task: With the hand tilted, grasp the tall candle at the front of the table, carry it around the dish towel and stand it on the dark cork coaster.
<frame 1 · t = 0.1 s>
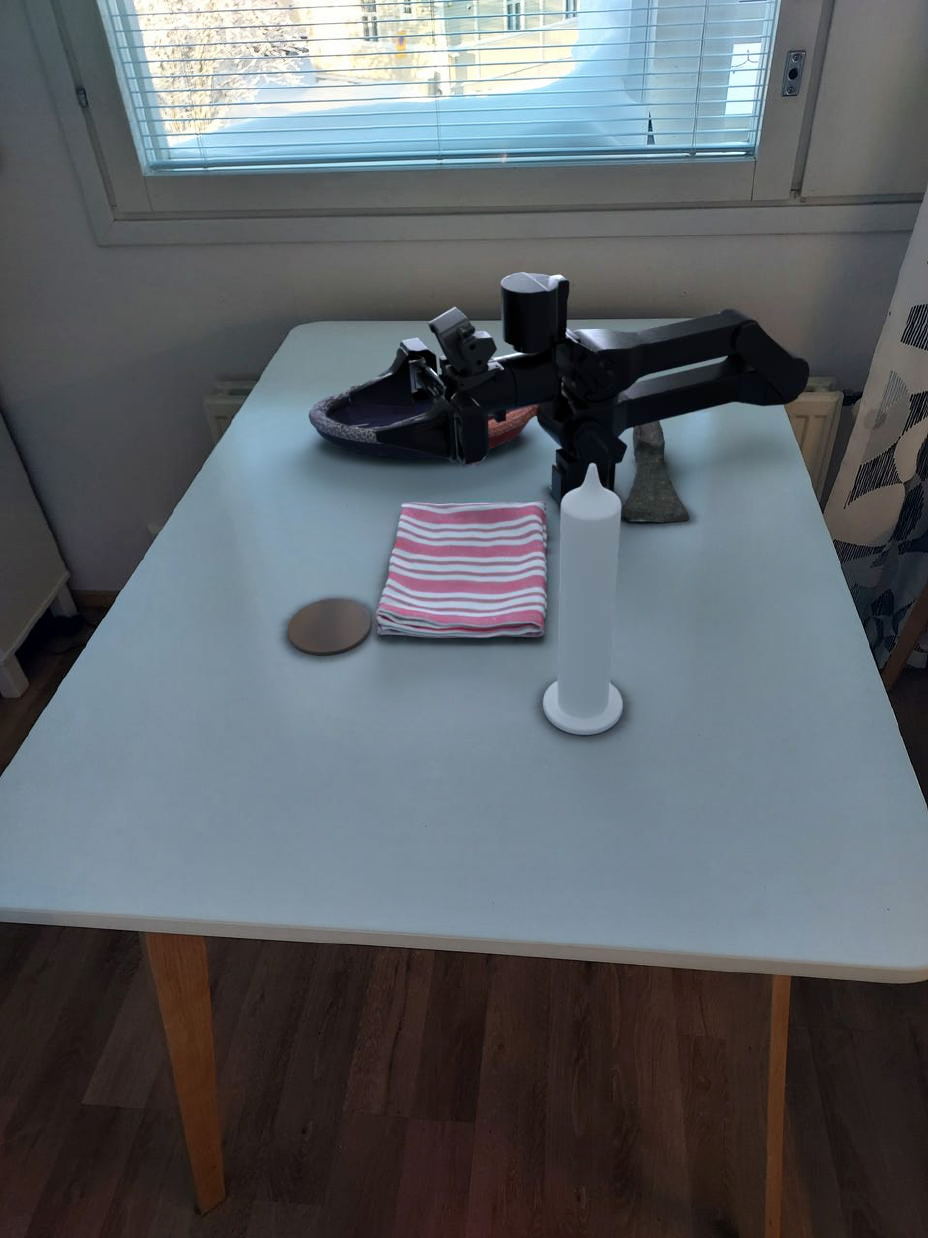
hand: (362, 416, 93), 17 cm above the table, tool horizontal, fingers open, 9 cm apart
dish towel: (468, 574, 100), on the table
candle: (582, 708, 83), on the table
coaster: (330, 627, 94), on the table
dish: (427, 438, 123), on the table
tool: (657, 478, 113), on the table
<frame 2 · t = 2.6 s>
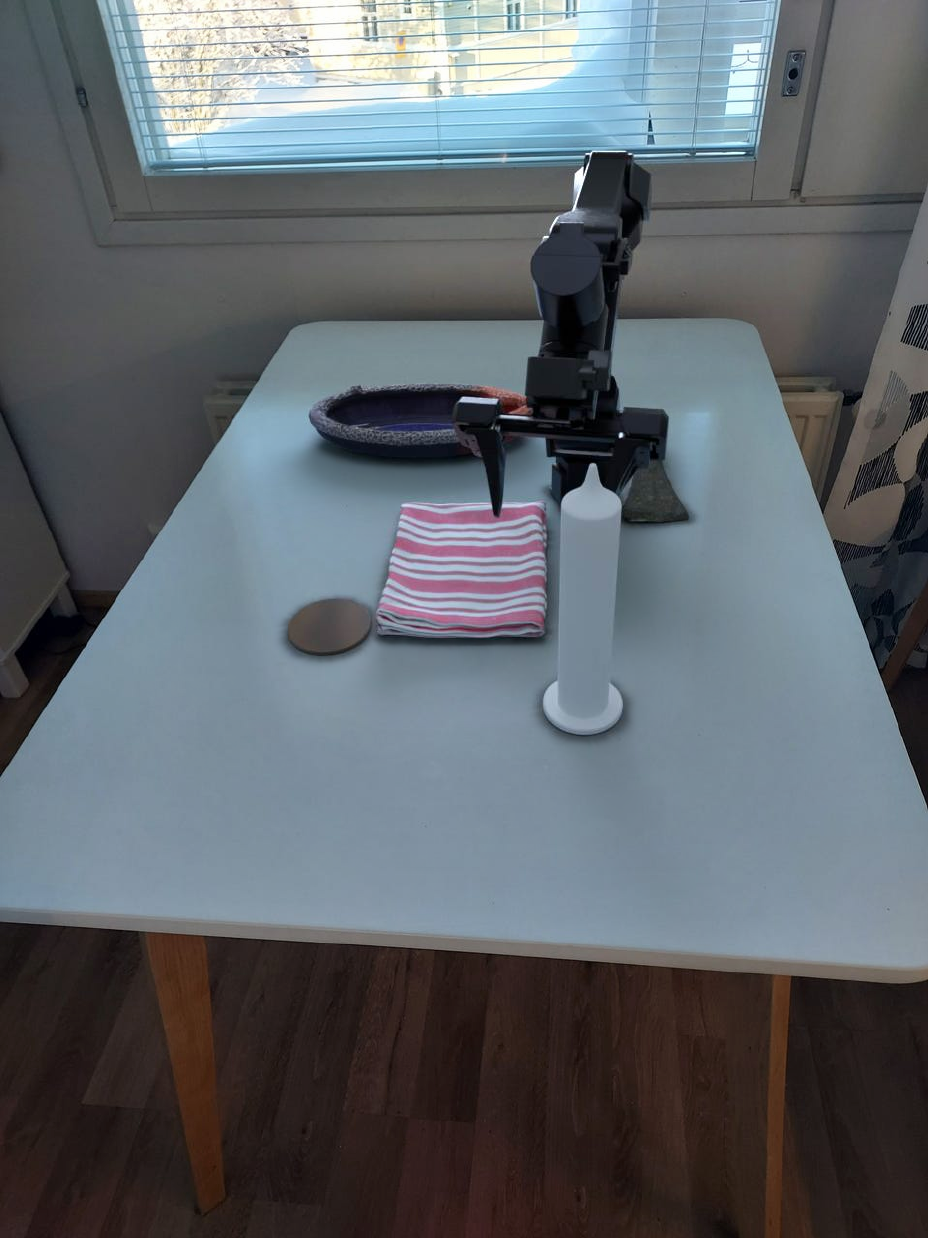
hand: (547, 521, 81), 14 cm above the table, tool tilted 50°, fingers open, 9 cm apart
nothing on the table moved.
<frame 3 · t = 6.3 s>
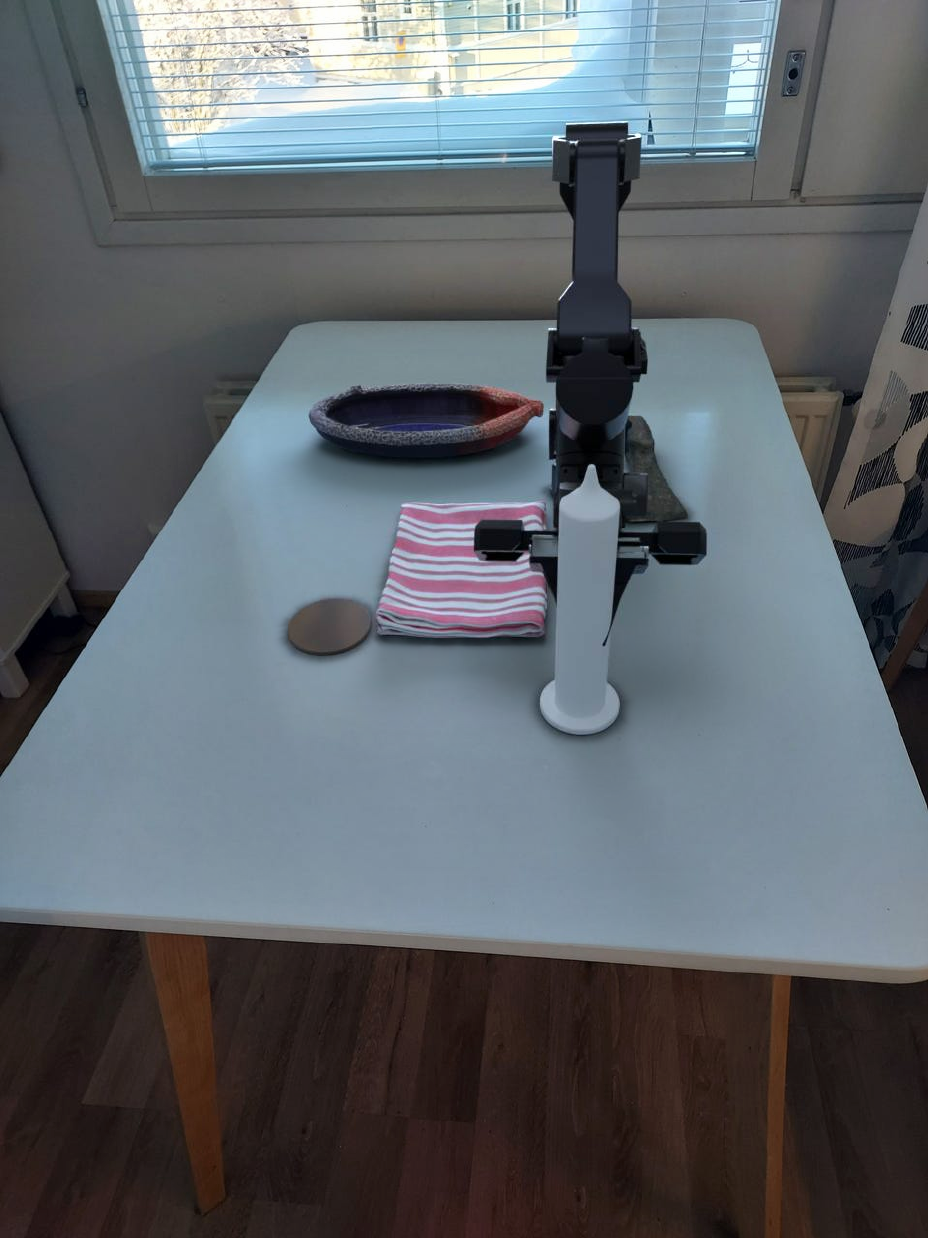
hand: (585, 645, 77), 9 cm above the table, tool tilted 45°, fingers closed on candle, 2 cm apart
candle: (579, 708, 83), on the table, touching gripper
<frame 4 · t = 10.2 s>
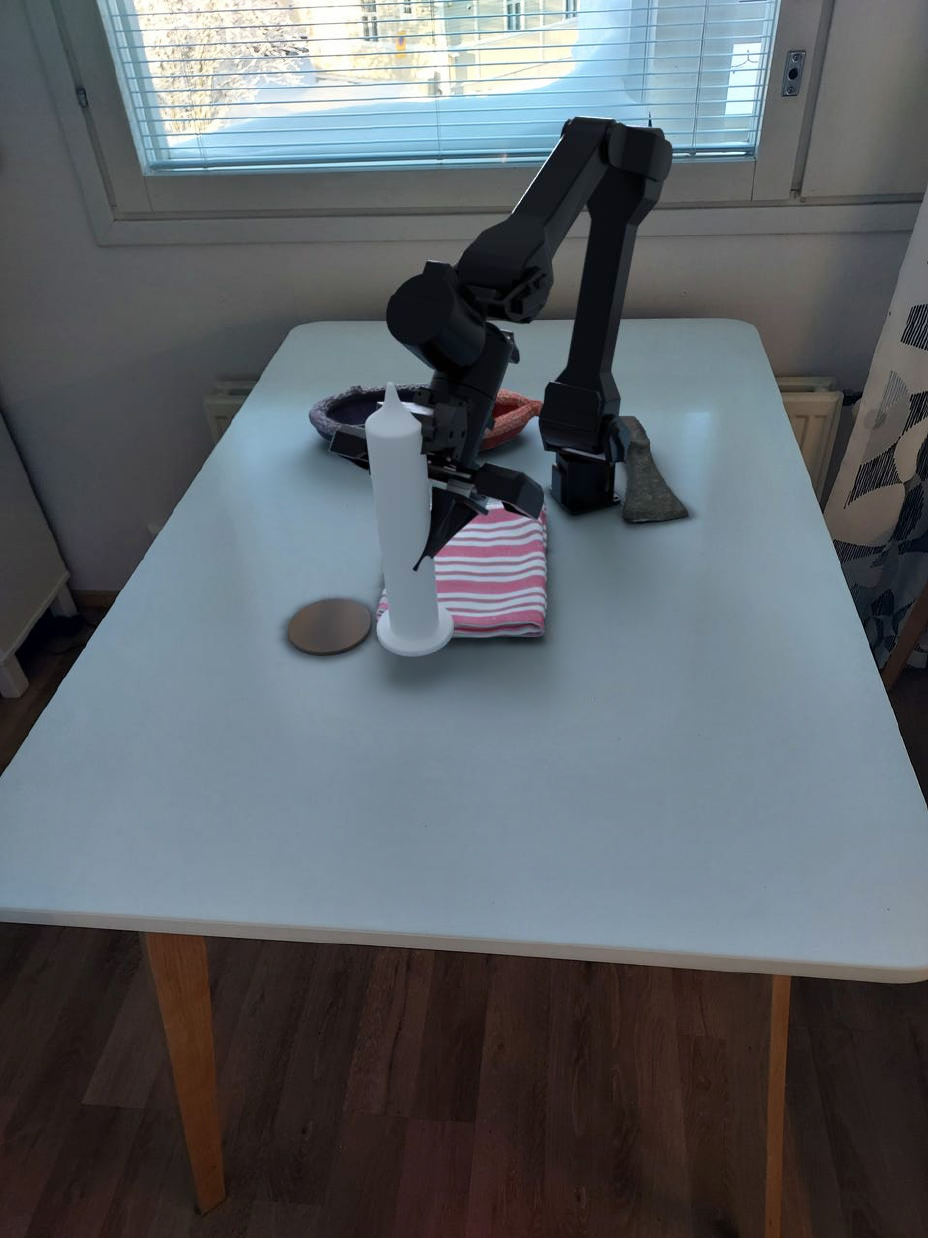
hand: (401, 566, 79), 13 cm above the table, tool tilted 45°, fingers closed on candle, 2 cm apart
candle: (415, 632, 86), point 5 cm above the table, touching gripper
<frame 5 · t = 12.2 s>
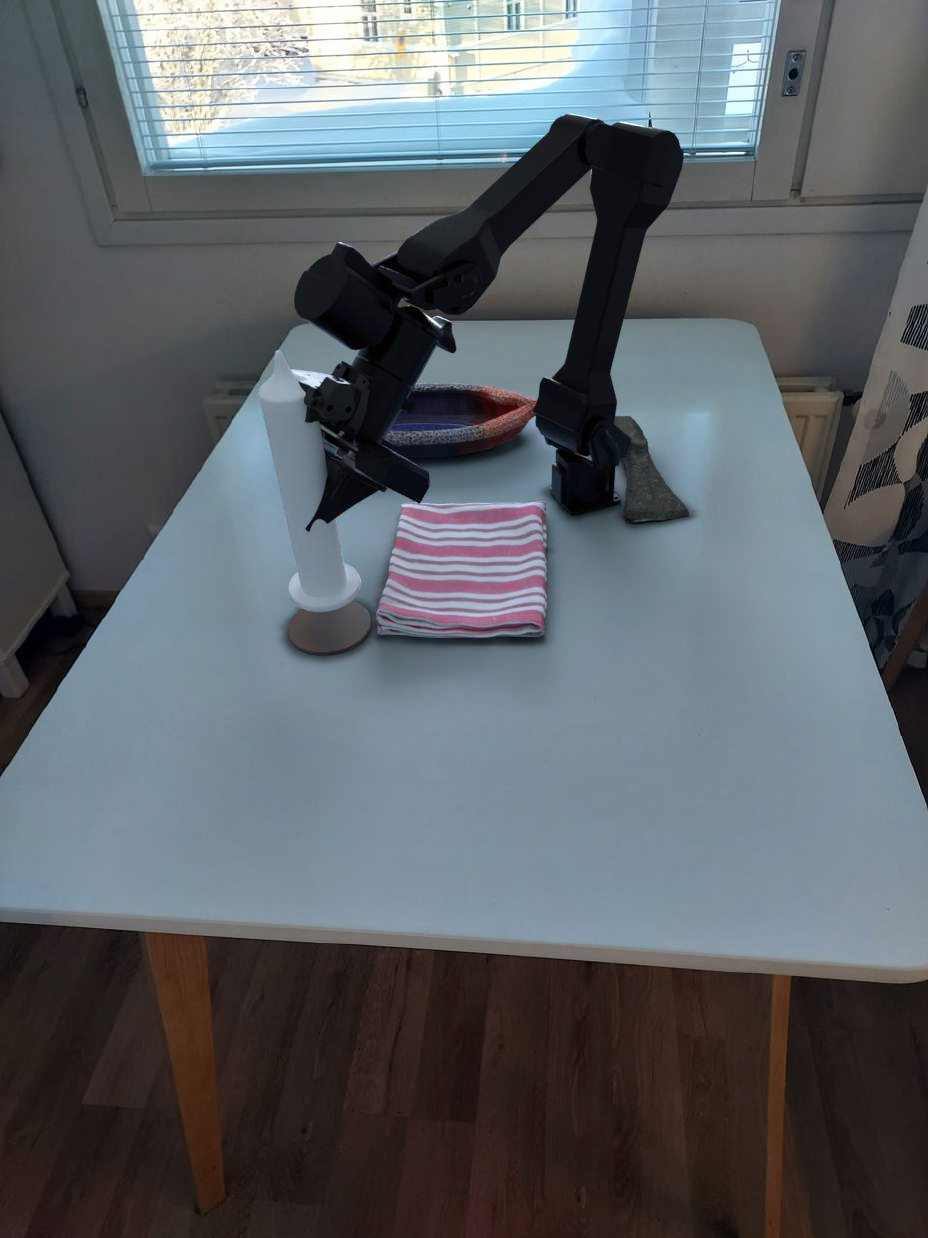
hand: (300, 525, 85), 13 cm above the table, tool tilted 45°, fingers closed on candle, 2 cm apart
candle: (325, 590, 91), point 5 cm above the table, touching gripper
when the fingers open (9 cm above the table, at t = 13.9 s): candle stays where it is, resting on coaster.
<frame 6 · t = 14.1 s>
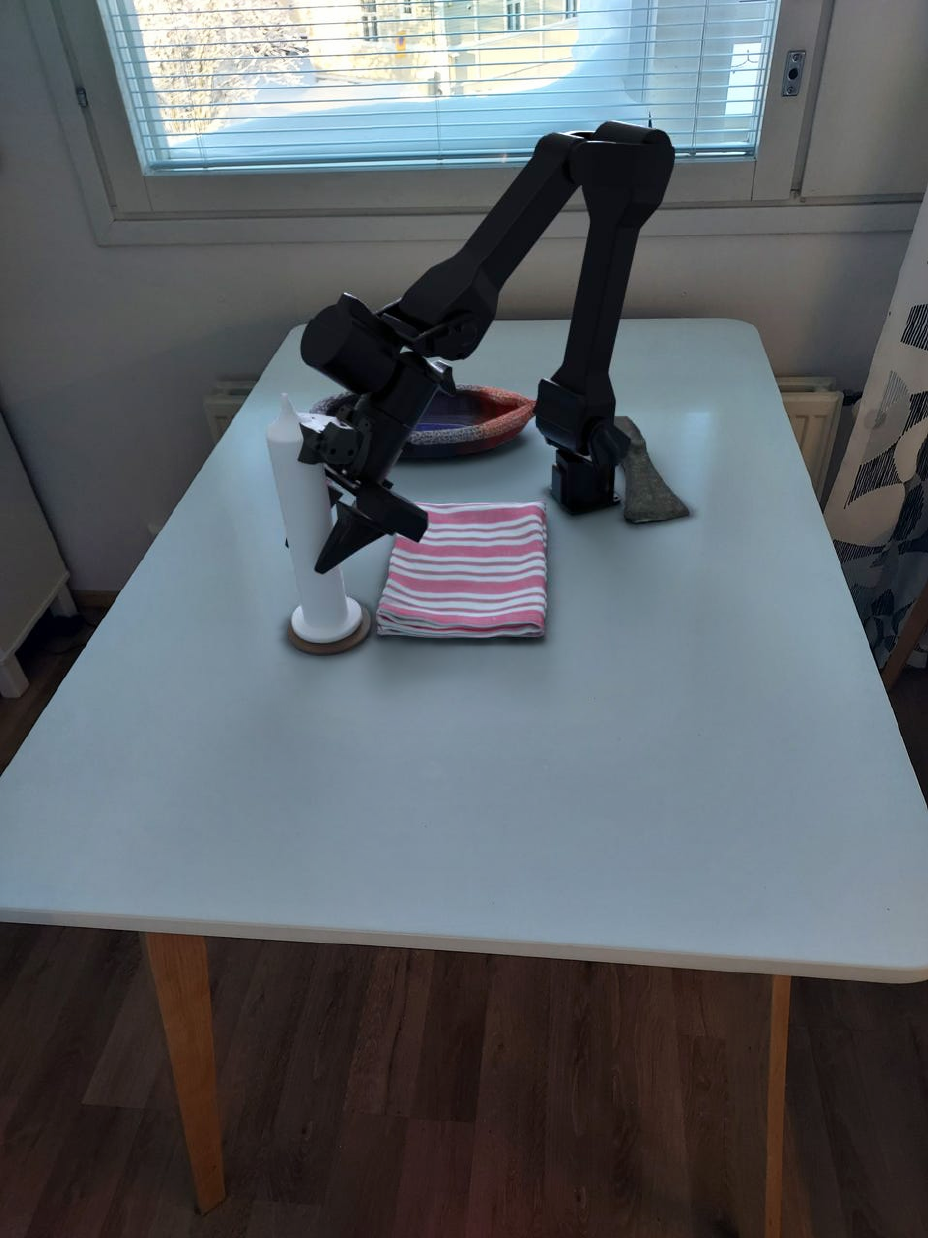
hand: (303, 560, 87), 9 cm above the table, tool tilted 45°, fingers open, 5 cm apart
candle: (327, 622, 94), resting on coaster
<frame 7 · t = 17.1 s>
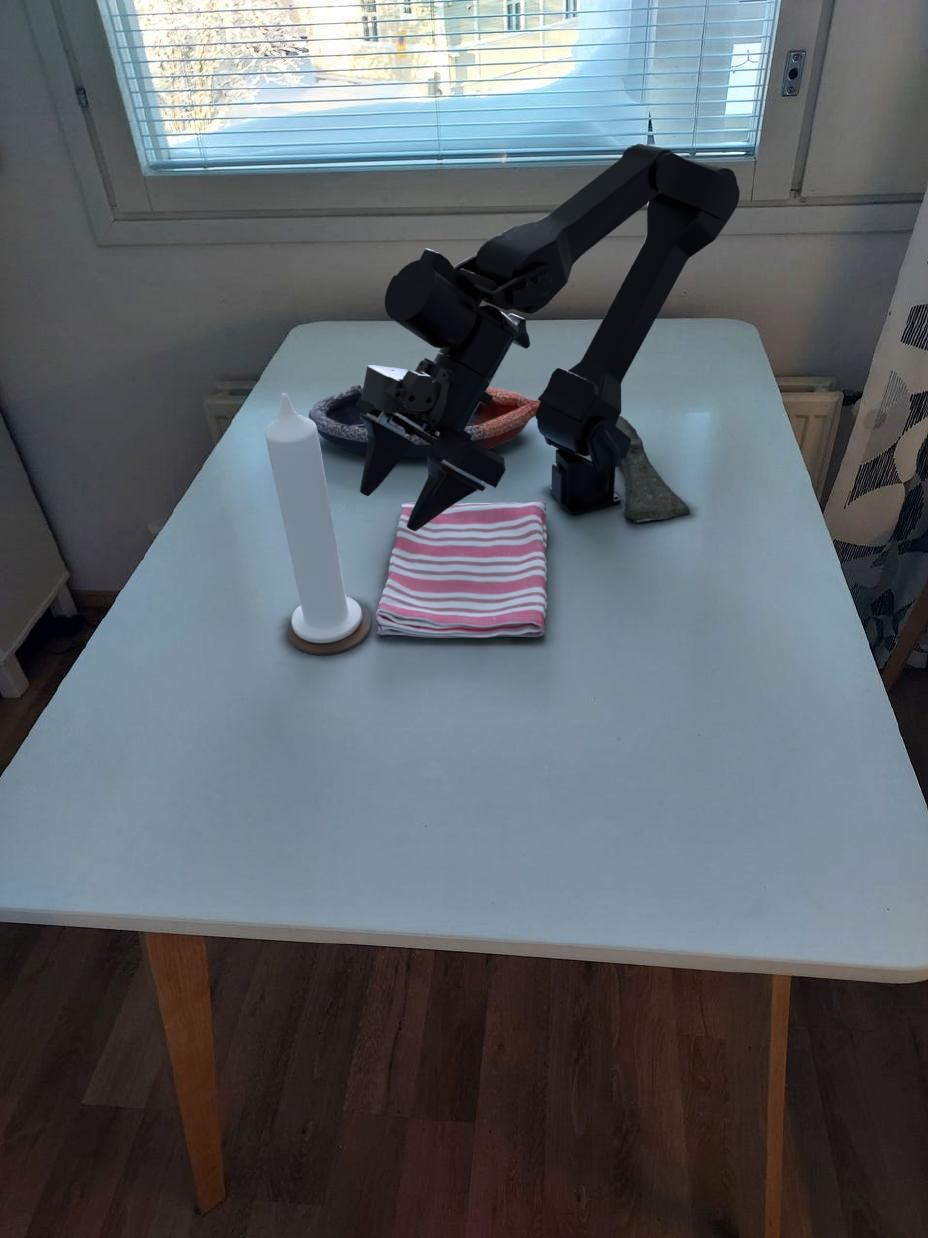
hand: (386, 511, 91), 10 cm above the table, tool tilted 45°, fingers open, 9 cm apart
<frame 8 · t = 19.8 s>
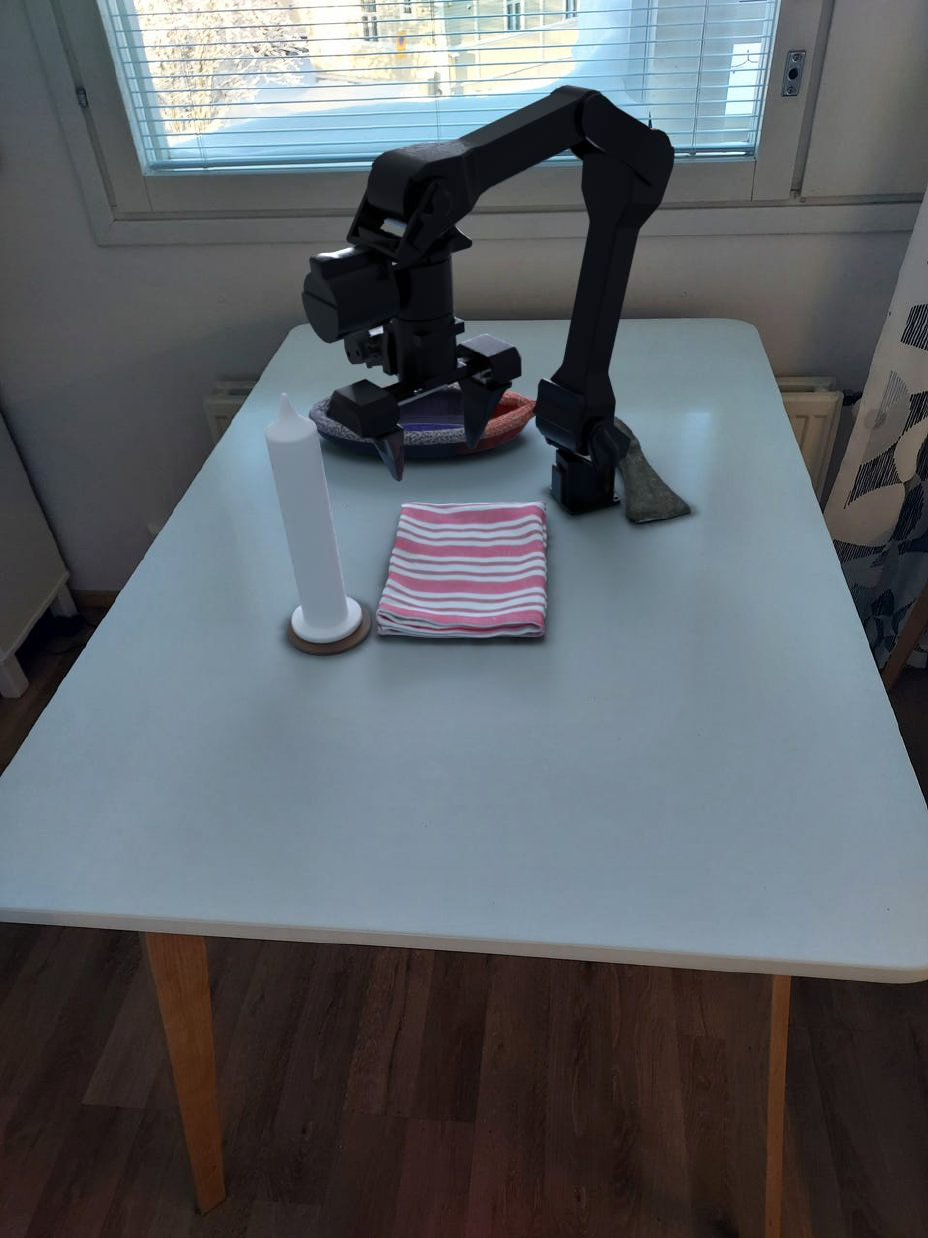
hand: (435, 462, 92), 13 cm above the table, tool pointing down, fingers open, 9 cm apart
at the end: candle inside the target area on the table beside the dish towel (0.4 cm from its centre), resting on coaster; candle tilted 0°; the gripper is holding nothing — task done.
